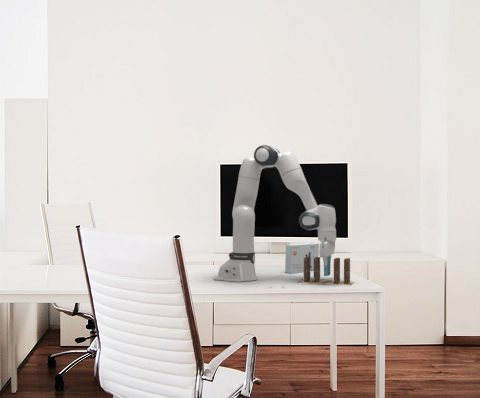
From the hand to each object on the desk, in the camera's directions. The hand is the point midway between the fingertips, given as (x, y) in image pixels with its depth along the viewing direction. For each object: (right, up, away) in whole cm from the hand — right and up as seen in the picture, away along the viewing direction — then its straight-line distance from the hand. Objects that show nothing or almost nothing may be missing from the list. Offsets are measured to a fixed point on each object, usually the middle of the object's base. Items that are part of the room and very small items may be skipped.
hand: (327, 264), depth 316 cm
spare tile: (0, -5, 0) cm, 5 cm away
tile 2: (+5, -9, -2) cm, 10 cm away
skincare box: (-8, -9, +44) cm, 46 cm away
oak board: (-1, -10, 0) cm, 10 cm away
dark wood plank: (-10, -9, +3) cm, 13 cm away
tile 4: (-5, -9, +2) cm, 10 cm away
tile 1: (+9, -9, -3) cm, 13 cm away
